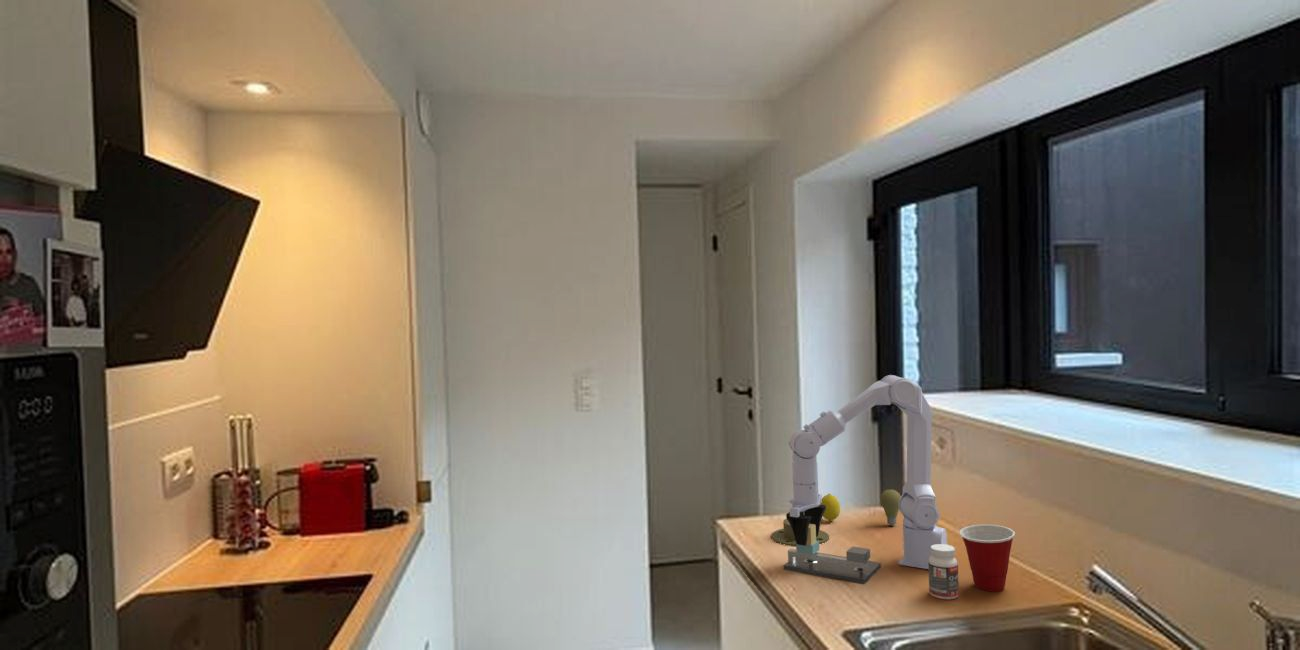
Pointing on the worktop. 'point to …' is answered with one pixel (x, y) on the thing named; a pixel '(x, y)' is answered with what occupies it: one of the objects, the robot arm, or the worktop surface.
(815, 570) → the hole plate
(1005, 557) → the plastic cup
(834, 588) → the worktop surface
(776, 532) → the flange
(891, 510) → the light bulb
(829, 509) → the lemon
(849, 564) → the rail
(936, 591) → the pill bottle
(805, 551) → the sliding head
